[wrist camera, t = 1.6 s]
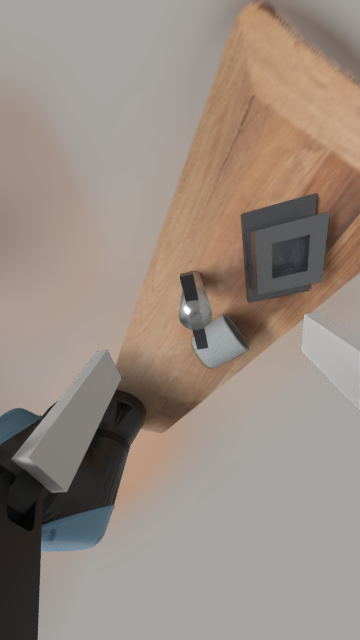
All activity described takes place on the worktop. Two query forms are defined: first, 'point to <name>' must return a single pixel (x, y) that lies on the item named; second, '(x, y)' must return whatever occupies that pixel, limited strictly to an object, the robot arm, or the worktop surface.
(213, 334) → the ceramic mug
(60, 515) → the robot arm
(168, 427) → the worktop surface
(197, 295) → the t key
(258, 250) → the chuck block
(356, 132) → the worktop surface
